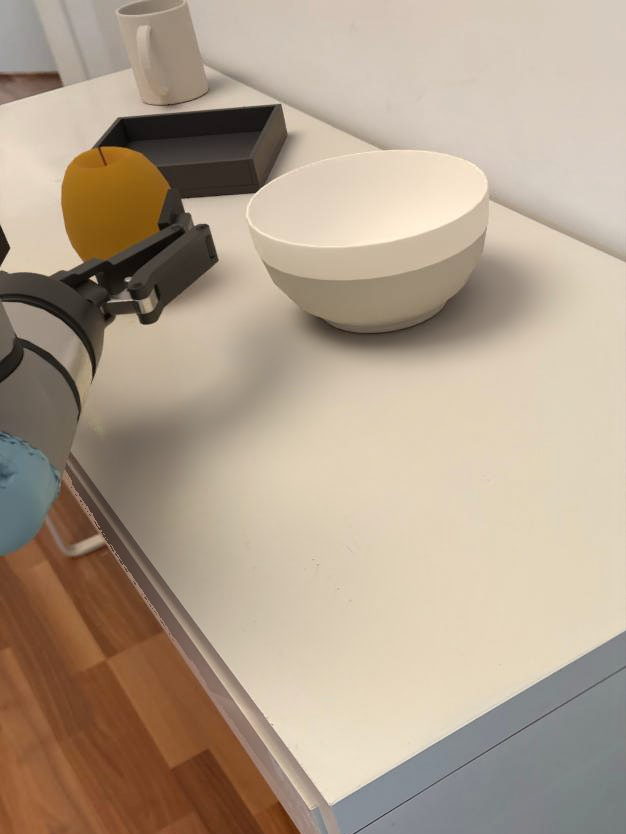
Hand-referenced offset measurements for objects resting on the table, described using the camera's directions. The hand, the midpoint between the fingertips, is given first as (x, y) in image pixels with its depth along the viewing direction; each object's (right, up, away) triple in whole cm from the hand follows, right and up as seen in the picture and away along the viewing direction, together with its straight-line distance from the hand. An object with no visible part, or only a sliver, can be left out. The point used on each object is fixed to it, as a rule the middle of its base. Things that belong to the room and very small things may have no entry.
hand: (88, 218), depth 73 cm
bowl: (+21, -4, +8) cm, 23 cm away
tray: (-3, +20, +34) cm, 40 cm away
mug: (-11, +39, +54) cm, 68 cm away
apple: (0, 0, +14) cm, 14 cm away
